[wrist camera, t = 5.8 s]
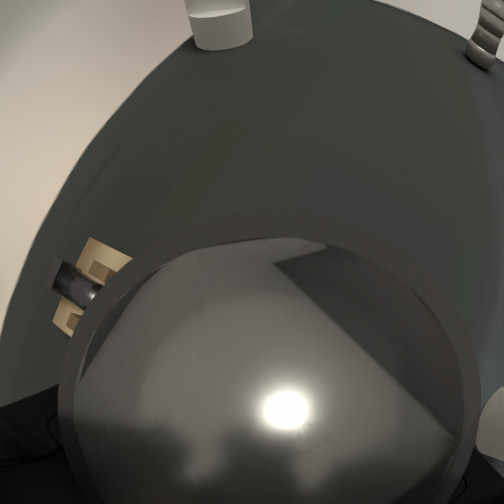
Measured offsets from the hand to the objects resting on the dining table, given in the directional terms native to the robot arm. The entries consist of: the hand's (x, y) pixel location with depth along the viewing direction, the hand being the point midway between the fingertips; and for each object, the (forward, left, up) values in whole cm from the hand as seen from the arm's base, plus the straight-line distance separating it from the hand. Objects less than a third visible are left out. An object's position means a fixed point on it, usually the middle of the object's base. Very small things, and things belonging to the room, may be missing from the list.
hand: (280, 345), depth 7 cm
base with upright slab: (+22, -37, -13) cm, 45 cm away
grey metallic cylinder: (0, +1, -7) cm, 7 cm away
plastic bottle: (-22, -59, -13) cm, 64 cm away
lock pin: (+14, +2, -10) cm, 17 cm away
